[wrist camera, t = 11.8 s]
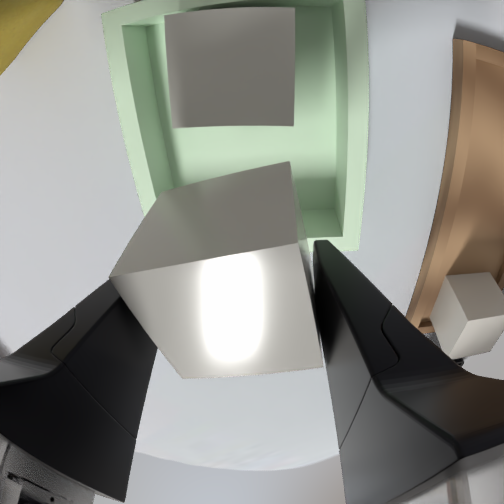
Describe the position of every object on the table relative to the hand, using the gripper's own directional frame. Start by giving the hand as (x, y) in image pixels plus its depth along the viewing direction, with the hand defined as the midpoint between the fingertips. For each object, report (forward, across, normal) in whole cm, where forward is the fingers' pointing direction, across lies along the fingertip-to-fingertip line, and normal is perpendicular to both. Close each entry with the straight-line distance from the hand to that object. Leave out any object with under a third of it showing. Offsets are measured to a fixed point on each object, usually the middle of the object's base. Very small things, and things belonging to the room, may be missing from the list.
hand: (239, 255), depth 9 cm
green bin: (+7, 0, -3) cm, 8 cm away
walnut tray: (+7, -14, +3) cm, 16 cm away
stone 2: (+7, 0, -5) cm, 8 cm away
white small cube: (+1, 0, 0) cm, 1 cm away
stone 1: (+7, -14, +9) cm, 18 cm away
